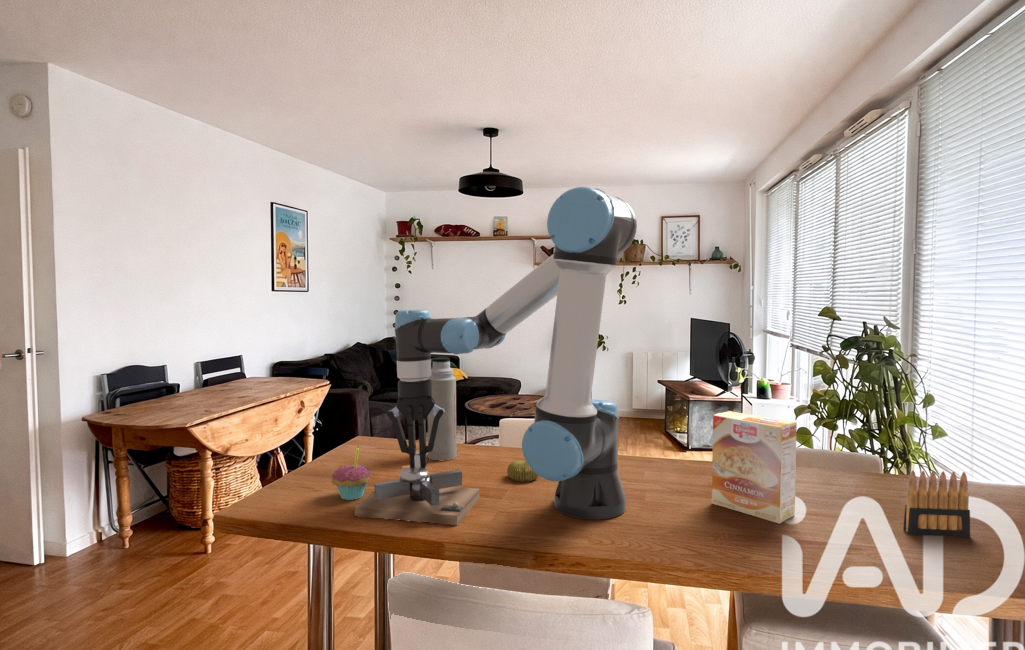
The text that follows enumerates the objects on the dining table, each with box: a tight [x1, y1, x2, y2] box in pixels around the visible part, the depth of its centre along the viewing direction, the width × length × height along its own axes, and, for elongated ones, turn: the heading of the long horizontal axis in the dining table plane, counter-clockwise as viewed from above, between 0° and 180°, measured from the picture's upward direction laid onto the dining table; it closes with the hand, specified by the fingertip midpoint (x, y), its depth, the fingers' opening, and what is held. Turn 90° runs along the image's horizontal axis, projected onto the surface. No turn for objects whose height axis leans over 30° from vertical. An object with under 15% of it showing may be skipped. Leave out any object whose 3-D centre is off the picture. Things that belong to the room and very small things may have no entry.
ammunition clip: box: [902, 469, 971, 538], centre depth 108 cm, size 11×2×12 cm, turn 83°
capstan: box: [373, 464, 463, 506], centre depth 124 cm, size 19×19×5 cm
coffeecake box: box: [711, 410, 798, 525], centre depth 121 cm, size 15×7×20 cm, turn 40°
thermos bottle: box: [426, 356, 458, 461], centre depth 161 cm, size 8×8×28 cm
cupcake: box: [330, 444, 372, 501], centre depth 130 cm, size 9×8×12 cm
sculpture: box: [507, 459, 539, 483], centre depth 143 cm, size 8×4×8 cm
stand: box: [354, 486, 481, 526], centre depth 124 cm, size 22×16×4 cm
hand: (419, 482), depth 130 cm, fingers closed
